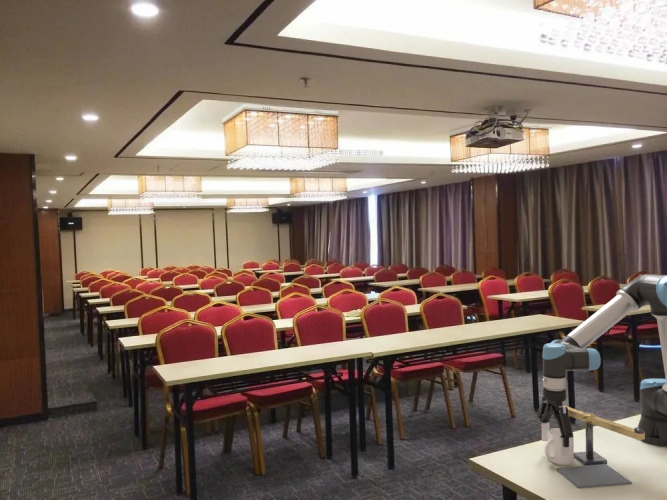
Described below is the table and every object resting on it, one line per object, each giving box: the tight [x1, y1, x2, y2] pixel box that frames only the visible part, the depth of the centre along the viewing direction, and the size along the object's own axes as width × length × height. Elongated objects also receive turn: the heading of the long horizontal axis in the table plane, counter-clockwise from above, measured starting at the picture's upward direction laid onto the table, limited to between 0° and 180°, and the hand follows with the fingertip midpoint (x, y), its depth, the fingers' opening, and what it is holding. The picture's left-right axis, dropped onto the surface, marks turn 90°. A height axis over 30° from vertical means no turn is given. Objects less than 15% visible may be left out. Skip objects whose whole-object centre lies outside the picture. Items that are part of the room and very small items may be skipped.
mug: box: [544, 427, 575, 466], centre depth 194 cm, size 12×8×10 cm
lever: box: [562, 404, 645, 441], centre depth 193 cm, size 38×4×3 cm, turn 25°
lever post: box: [574, 423, 608, 466], centre depth 194 cm, size 8×8×14 cm
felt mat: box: [555, 463, 633, 489], centre depth 182 cm, size 18×14×1 cm
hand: (554, 448), depth 194 cm, fingers open, 13 cm apart
